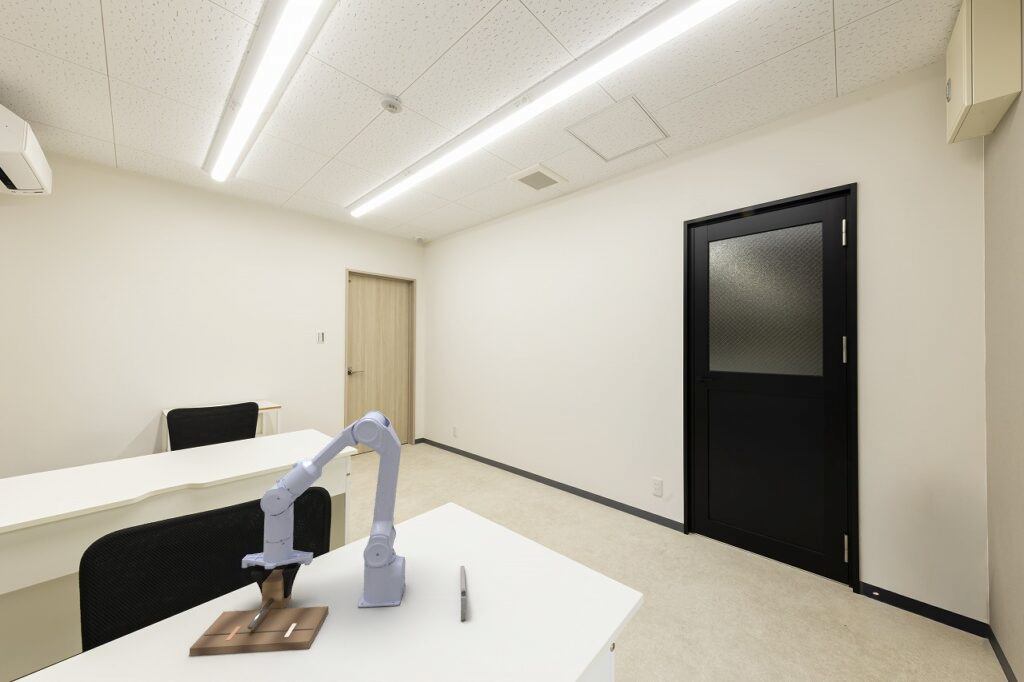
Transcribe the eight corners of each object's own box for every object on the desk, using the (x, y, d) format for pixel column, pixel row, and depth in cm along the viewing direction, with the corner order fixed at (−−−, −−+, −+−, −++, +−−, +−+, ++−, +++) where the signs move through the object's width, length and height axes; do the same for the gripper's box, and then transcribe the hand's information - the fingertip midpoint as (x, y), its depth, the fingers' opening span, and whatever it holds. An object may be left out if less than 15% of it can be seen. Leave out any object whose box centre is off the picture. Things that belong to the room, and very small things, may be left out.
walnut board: (328, 612, 85) (328, 605, 85) (309, 648, 75) (309, 640, 75) (223, 618, 82) (223, 611, 82) (189, 656, 72) (189, 647, 72)
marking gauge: (291, 598, 89) (292, 569, 89) (260, 642, 76) (261, 607, 76) (273, 599, 88) (274, 569, 89) (239, 643, 76) (240, 608, 76)
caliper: (465, 623, 83) (466, 594, 83) (460, 623, 83) (461, 594, 83) (464, 568, 103) (464, 545, 103) (460, 568, 103) (460, 545, 103)
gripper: (234, 547, 82) (232, 609, 82) (304, 544, 83) (302, 606, 83) (252, 531, 89) (251, 588, 89) (317, 529, 90) (315, 585, 90)
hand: (277, 596), depth 86 cm, fingers closed on marking gauge, 4 cm apart
